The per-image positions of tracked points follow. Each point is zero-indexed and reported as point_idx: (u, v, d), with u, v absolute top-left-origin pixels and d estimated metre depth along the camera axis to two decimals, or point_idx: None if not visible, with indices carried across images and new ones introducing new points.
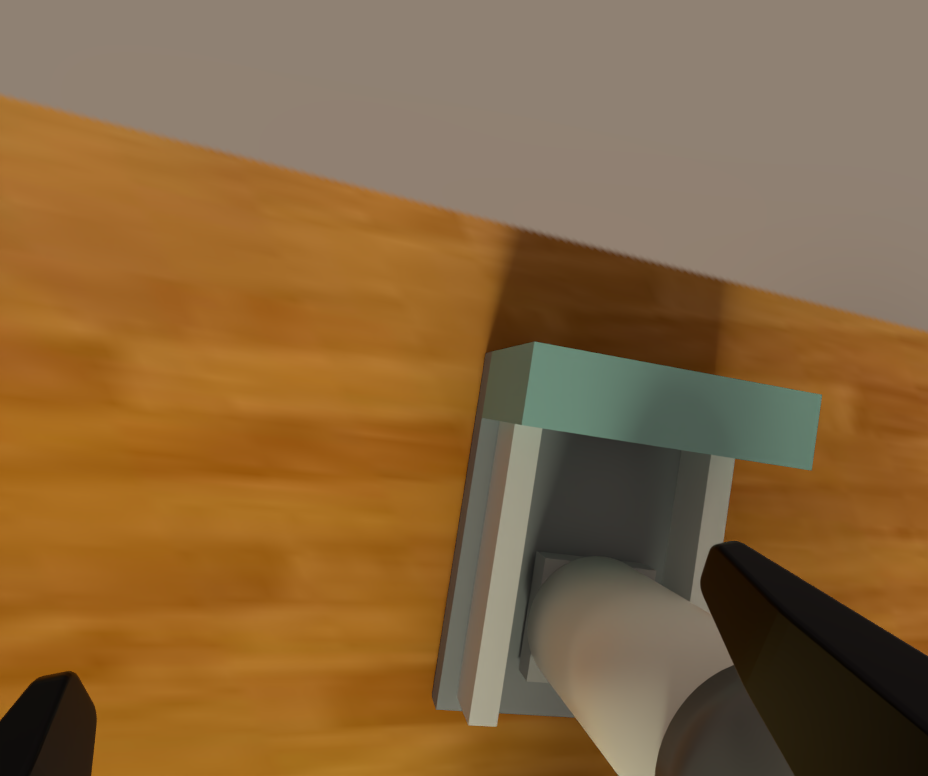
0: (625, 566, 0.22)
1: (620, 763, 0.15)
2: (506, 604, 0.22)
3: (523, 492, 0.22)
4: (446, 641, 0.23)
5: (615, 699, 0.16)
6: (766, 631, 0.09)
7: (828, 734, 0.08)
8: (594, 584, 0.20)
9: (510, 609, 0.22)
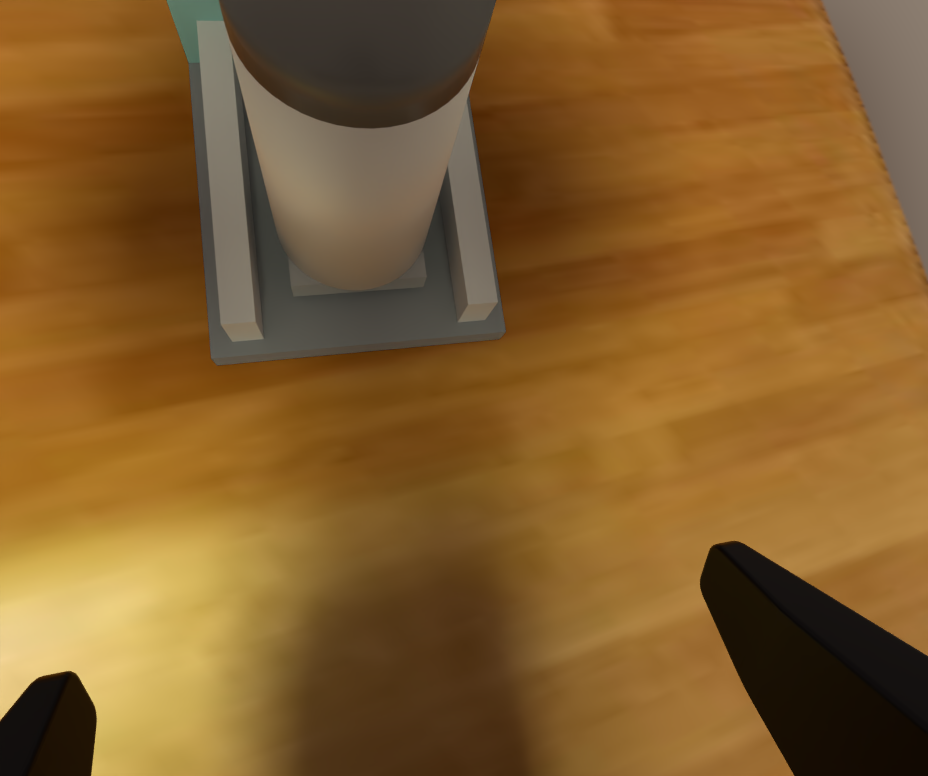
0: None
1: (250, 111, 0.13)
2: (233, 195, 0.20)
3: (223, 83, 0.20)
4: None
5: None
6: (766, 631, 0.09)
7: (828, 734, 0.08)
8: None
9: (240, 200, 0.20)
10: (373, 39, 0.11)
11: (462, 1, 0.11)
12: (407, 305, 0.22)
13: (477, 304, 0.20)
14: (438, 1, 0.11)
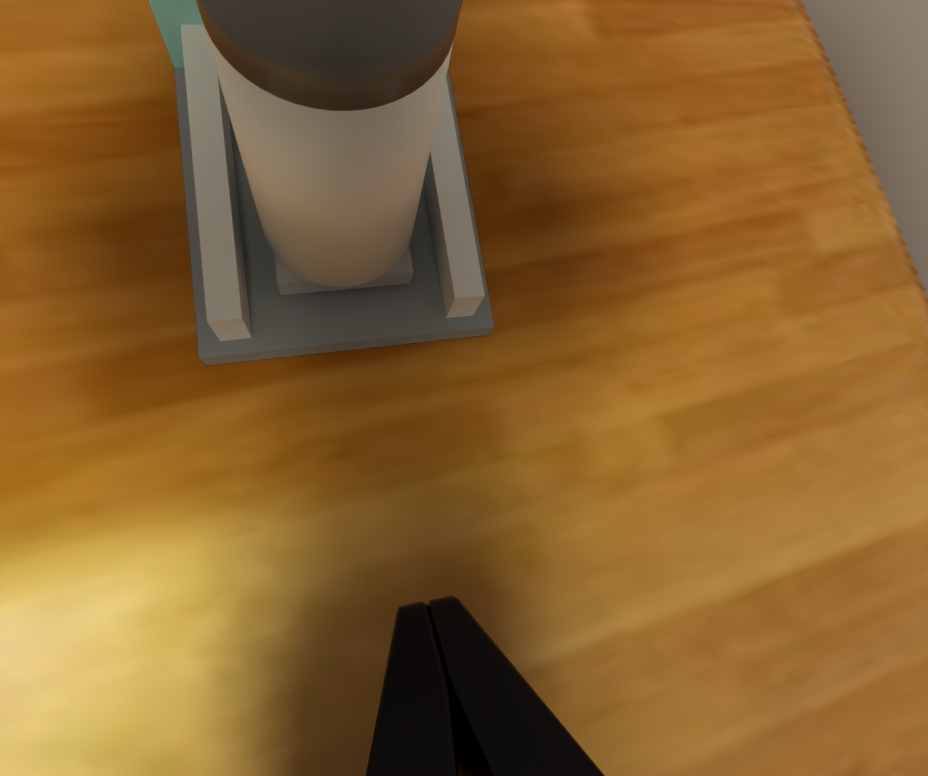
0: None
1: (228, 100, 0.13)
2: (218, 194, 0.20)
3: (208, 85, 0.20)
4: (193, 288, 0.21)
5: None
6: None
7: None
8: None
9: (225, 199, 0.20)
10: (344, 19, 0.11)
11: None
12: (395, 302, 0.22)
13: (464, 297, 0.20)
14: None
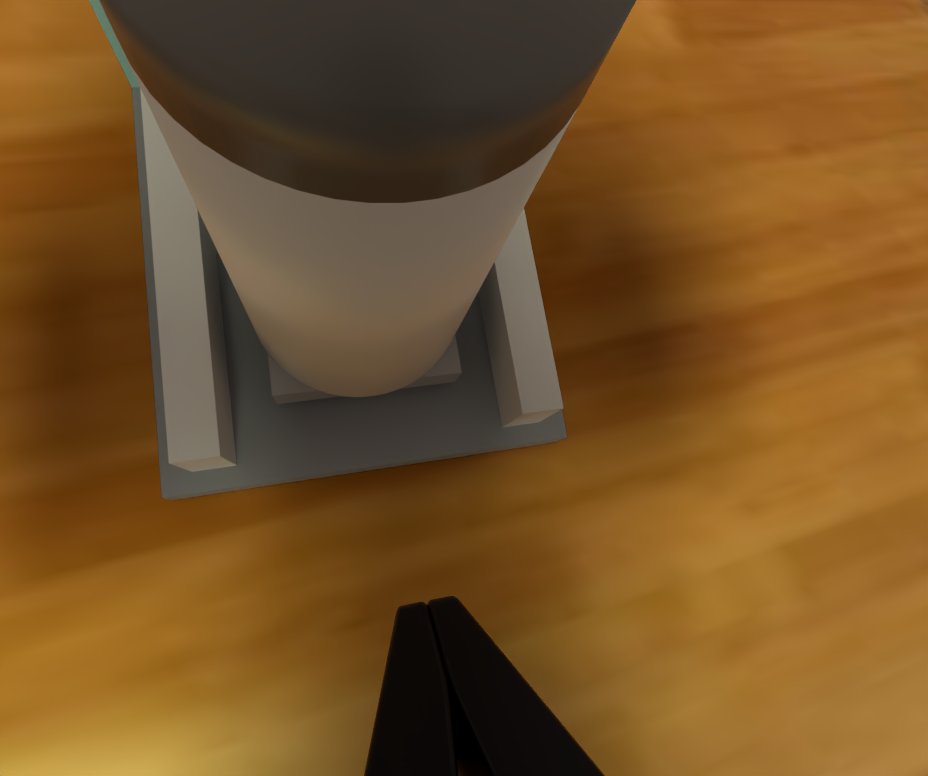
0: None
1: (178, 166, 0.07)
2: (187, 271, 0.14)
3: None
4: (155, 395, 0.15)
5: None
6: None
7: None
8: None
9: (197, 278, 0.14)
10: (411, 20, 0.05)
11: None
12: (433, 407, 0.16)
13: (535, 412, 0.15)
14: None
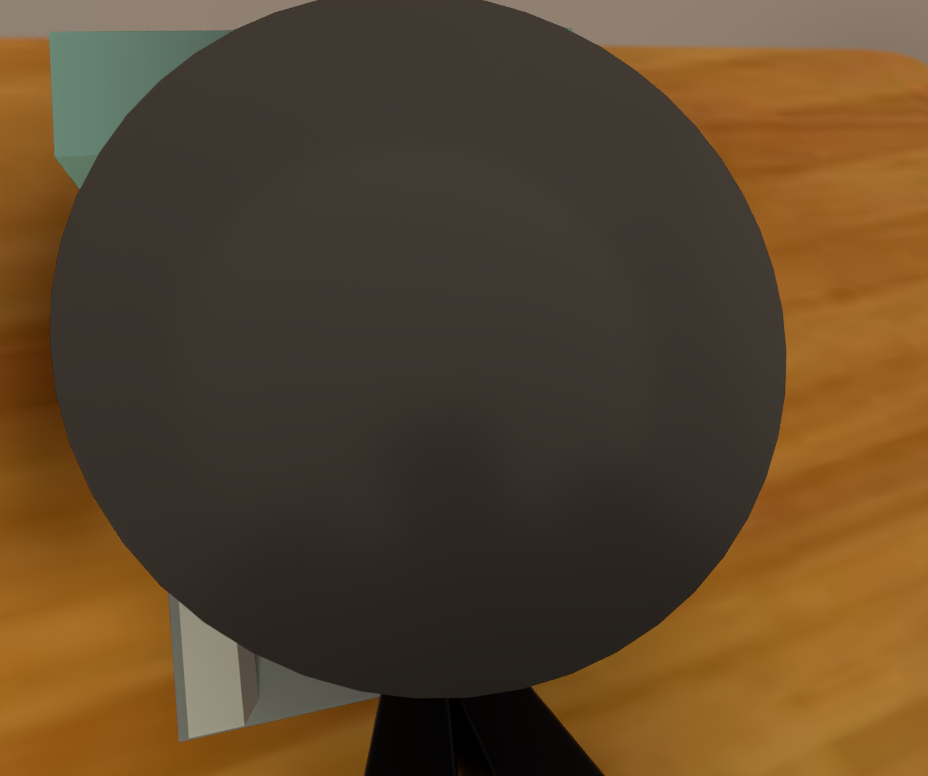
0: None
1: None
2: None
3: None
4: (171, 623, 0.14)
5: None
6: None
7: None
8: None
9: None
10: (507, 561, 0.04)
11: (708, 405, 0.04)
12: None
13: None
14: (654, 418, 0.04)
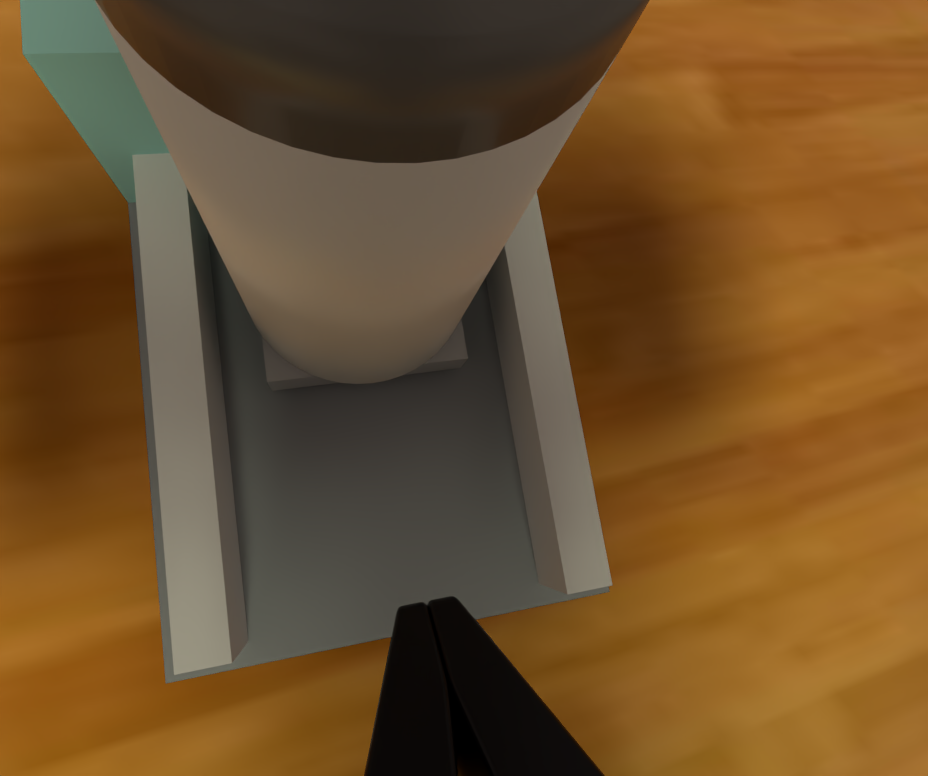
0: None
1: None
2: (193, 443, 0.12)
3: (176, 256, 0.13)
4: (157, 563, 0.14)
5: None
6: None
7: None
8: None
9: (204, 451, 0.12)
10: None
11: None
12: (464, 563, 0.15)
13: (581, 591, 0.13)
14: None
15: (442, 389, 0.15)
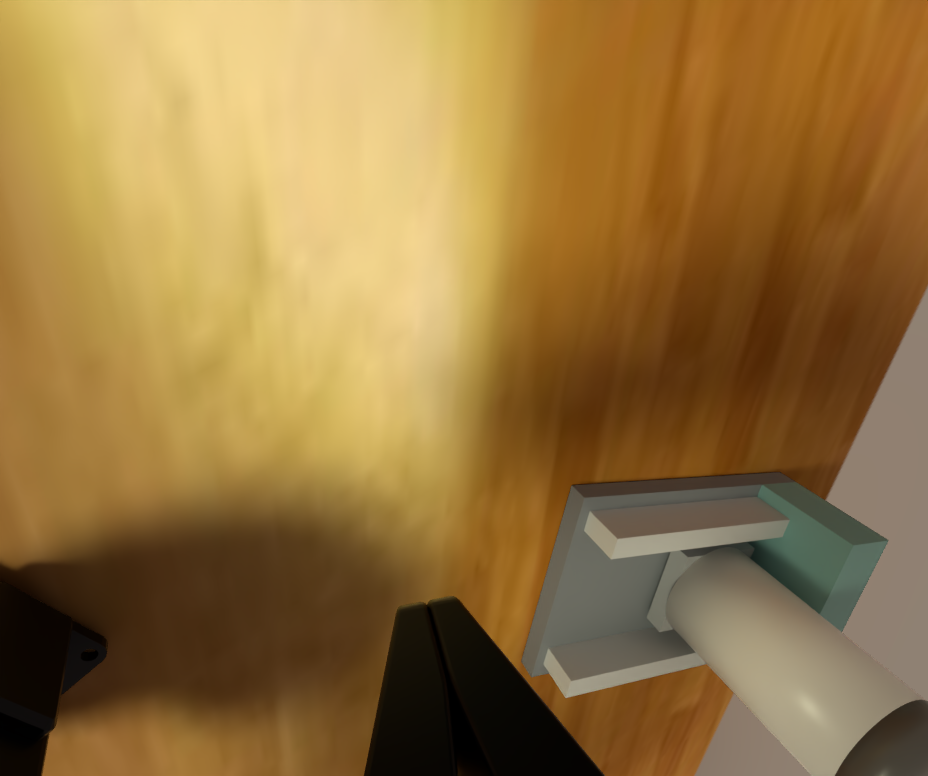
0: None
1: (848, 672, 0.23)
2: (688, 543, 0.27)
3: (751, 535, 0.29)
4: (629, 493, 0.28)
5: (861, 654, 0.24)
6: None
7: None
8: None
9: (684, 546, 0.27)
10: None
11: None
12: (570, 617, 0.29)
13: (569, 686, 0.28)
14: None
15: (638, 607, 0.31)
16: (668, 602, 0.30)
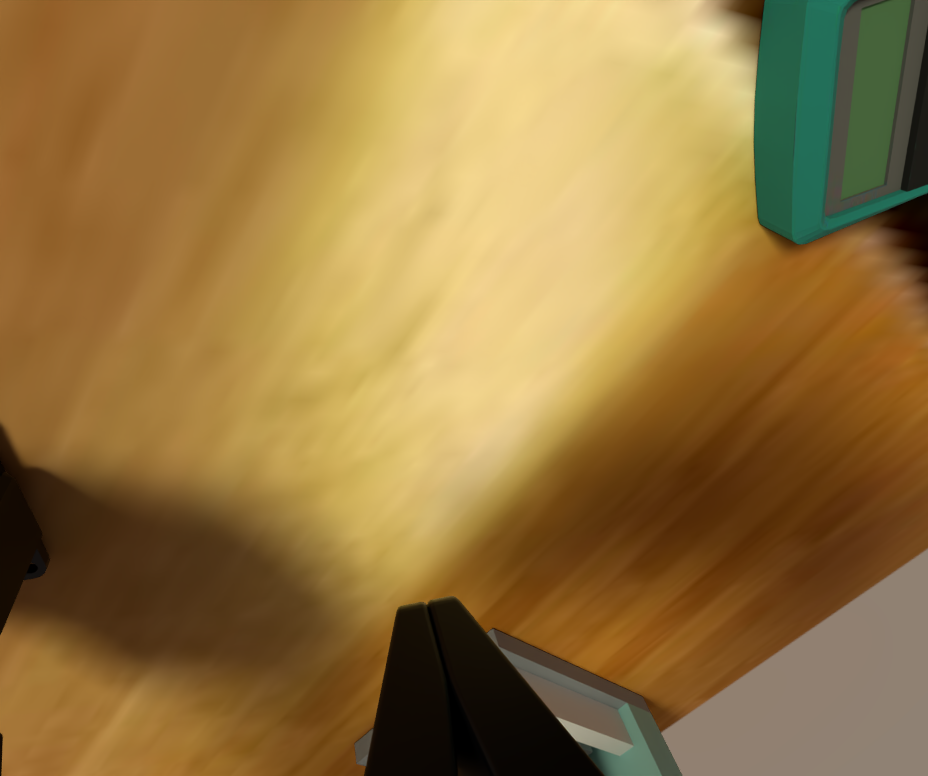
0: None
1: None
2: None
3: (599, 744, 0.32)
4: (531, 660, 0.30)
5: None
6: None
7: None
8: None
9: None
10: None
11: None
12: None
13: None
14: None
15: None
16: None
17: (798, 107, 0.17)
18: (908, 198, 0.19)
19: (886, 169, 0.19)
